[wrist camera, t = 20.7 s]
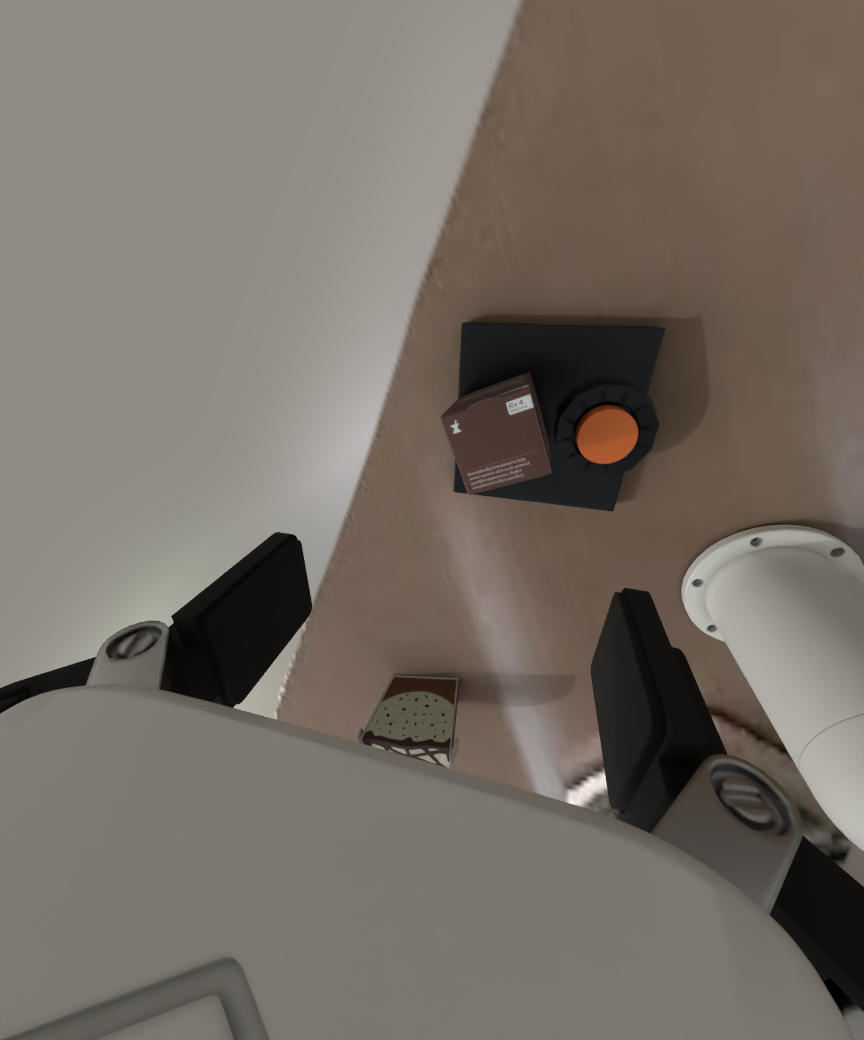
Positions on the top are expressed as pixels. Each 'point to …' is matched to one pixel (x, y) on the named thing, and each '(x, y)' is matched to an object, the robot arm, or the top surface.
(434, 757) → the food container
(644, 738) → the robot arm
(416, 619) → the top surface
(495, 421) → the box
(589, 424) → the button
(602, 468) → the scale
